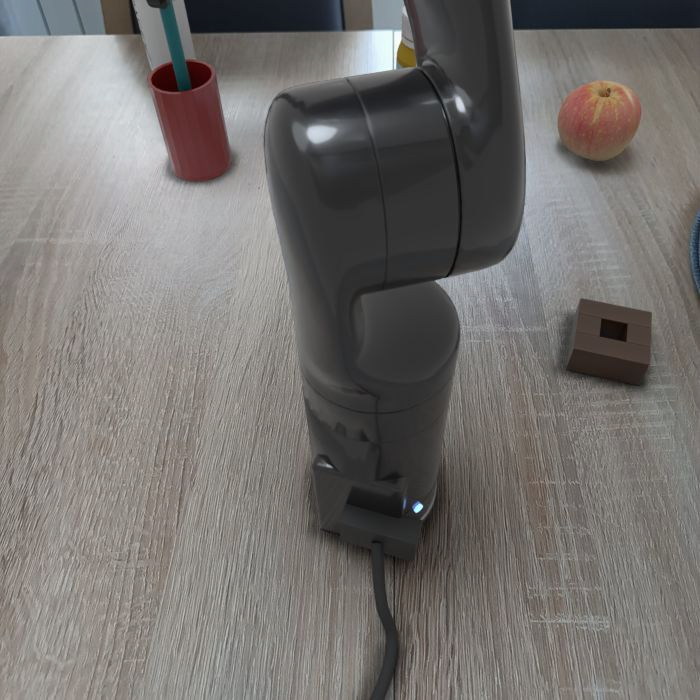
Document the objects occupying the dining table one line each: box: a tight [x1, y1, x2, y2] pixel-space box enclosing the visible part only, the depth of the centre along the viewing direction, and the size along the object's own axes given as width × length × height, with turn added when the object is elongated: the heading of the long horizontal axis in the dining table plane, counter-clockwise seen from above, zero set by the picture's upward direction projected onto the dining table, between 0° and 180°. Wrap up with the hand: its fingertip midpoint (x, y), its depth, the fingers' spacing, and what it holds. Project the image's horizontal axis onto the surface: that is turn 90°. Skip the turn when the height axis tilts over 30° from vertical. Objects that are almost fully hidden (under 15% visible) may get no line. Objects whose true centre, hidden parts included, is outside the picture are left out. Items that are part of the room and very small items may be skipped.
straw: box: [159, 0, 192, 92], centre depth 66 cm, size 1×1×15 cm
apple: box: [557, 80, 642, 162], centre depth 75 cm, size 9×9×8 cm
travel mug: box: [131, 0, 197, 72], centre depth 84 cm, size 6×7×20 cm
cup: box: [147, 59, 233, 182], centre depth 74 cm, size 7×7×11 cm
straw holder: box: [565, 297, 653, 386], centre depth 58 cm, size 6×6×3 cm
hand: (164, 1), depth 64 cm, fingers closed on straw, 1 cm apart
